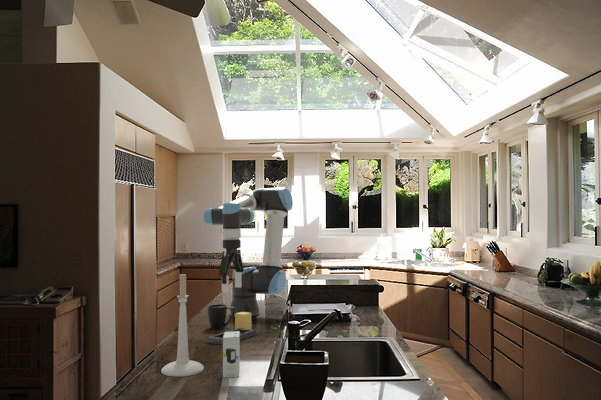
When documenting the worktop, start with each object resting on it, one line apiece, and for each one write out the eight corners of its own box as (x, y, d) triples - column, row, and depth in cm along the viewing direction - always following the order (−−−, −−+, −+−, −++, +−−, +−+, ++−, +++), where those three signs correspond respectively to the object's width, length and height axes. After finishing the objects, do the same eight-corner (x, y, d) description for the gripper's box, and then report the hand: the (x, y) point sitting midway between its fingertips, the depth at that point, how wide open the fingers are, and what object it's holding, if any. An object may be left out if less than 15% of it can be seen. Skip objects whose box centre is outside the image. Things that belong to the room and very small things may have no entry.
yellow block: (242, 328, 221) (241, 311, 221) (251, 329, 219) (251, 312, 219) (235, 330, 217) (234, 313, 217) (244, 331, 214) (244, 314, 215)
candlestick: (168, 364, 164) (168, 271, 166) (207, 364, 164) (207, 270, 165) (155, 376, 152) (156, 275, 153) (198, 376, 151) (198, 274, 153)
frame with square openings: (239, 332, 211) (239, 327, 211) (256, 334, 207) (256, 329, 207) (207, 342, 194) (207, 337, 194) (225, 345, 190) (225, 339, 190)
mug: (232, 329, 217) (232, 307, 218) (205, 329, 219) (205, 307, 219) (237, 326, 226) (237, 304, 226) (210, 325, 227) (210, 304, 227)
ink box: (224, 369, 158) (224, 331, 159) (240, 369, 159) (239, 330, 159) (222, 377, 150) (222, 337, 150) (239, 377, 150) (238, 336, 151)
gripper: (235, 237, 229) (235, 285, 228) (210, 240, 205) (210, 293, 204) (250, 237, 227) (251, 285, 226) (227, 240, 203) (227, 293, 202)
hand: (231, 289), depth 215 cm, fingers open, 13 cm apart
